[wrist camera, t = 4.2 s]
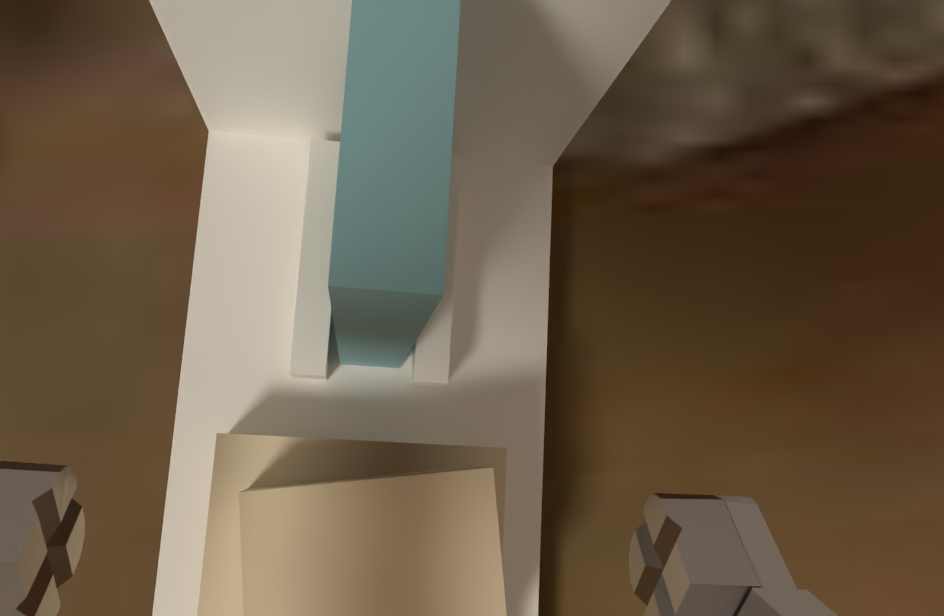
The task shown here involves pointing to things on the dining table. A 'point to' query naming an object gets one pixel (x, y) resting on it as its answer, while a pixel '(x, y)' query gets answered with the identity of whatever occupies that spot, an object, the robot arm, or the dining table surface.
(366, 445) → the plate
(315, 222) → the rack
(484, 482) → the offcut top
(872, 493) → the dining table surface
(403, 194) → the tall board
